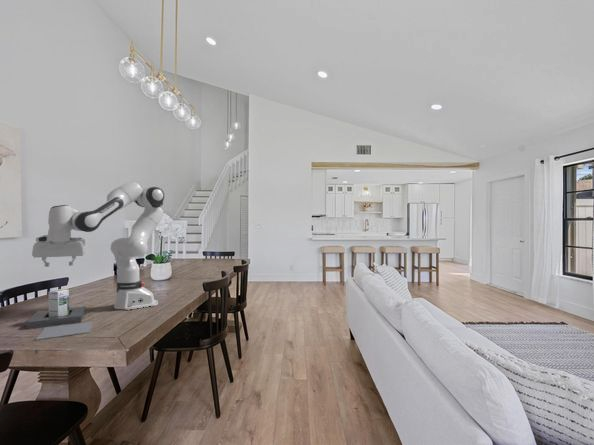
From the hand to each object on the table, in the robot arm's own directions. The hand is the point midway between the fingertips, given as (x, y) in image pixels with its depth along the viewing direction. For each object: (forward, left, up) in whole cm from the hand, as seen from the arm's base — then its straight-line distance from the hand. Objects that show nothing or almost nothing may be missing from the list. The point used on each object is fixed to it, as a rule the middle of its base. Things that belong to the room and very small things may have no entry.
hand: (59, 265), depth 150 cm
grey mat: (-6, +21, -26) cm, 34 cm away
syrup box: (0, 0, -27) cm, 27 cm away
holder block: (0, 0, -26) cm, 26 cm away
